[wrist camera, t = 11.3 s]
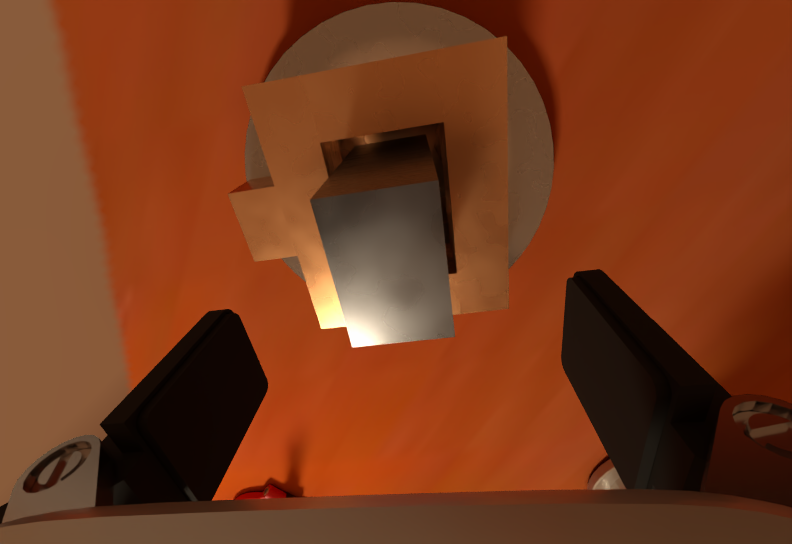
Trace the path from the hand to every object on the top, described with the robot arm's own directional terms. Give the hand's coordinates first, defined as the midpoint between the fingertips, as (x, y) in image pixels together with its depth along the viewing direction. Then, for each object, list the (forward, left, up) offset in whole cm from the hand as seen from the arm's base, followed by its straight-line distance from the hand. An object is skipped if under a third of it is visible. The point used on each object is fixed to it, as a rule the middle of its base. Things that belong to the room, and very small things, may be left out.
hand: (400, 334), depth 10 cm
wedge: (0, -1, -13) cm, 13 cm away
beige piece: (0, -1, -14) cm, 14 cm away
